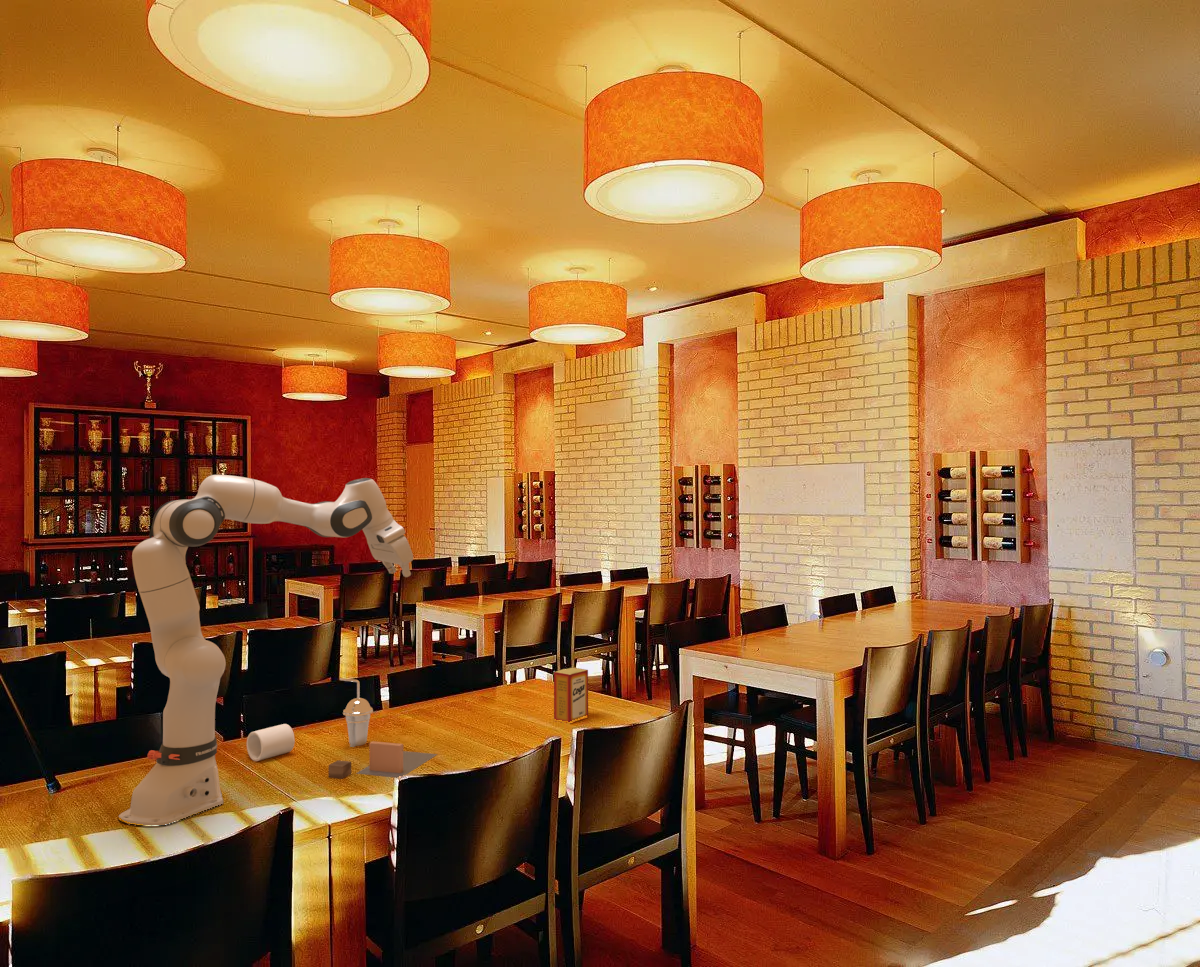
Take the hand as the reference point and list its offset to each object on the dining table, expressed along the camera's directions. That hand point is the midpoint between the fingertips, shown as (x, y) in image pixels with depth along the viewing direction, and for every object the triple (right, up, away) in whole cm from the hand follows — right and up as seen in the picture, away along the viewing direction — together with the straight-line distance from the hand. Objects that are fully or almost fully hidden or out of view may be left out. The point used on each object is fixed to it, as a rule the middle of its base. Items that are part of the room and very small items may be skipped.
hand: (400, 574), depth 232 cm
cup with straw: (-14, -51, +5) cm, 53 cm away
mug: (-37, -51, -3) cm, 63 cm away
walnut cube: (-10, -50, -23) cm, 56 cm away
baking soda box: (+48, -51, +32) cm, 77 cm away
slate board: (+3, -50, -14) cm, 52 cm away
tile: (+1, -49, -20) cm, 53 cm away
